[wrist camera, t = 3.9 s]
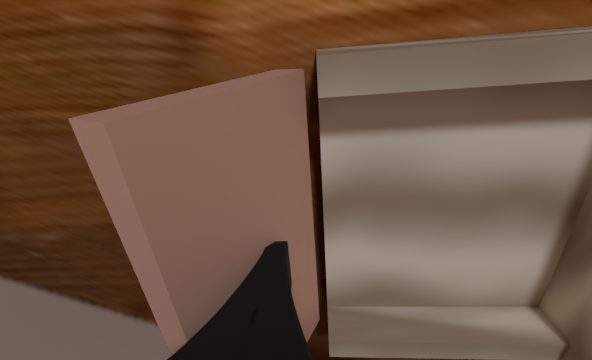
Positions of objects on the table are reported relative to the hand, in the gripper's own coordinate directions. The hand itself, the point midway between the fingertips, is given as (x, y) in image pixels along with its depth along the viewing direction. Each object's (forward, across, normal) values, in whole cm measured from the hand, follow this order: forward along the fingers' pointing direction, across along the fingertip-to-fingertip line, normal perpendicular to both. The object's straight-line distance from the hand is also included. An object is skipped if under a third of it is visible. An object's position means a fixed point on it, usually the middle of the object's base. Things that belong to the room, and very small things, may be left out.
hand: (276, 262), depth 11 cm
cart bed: (+5, -8, 0) cm, 9 cm away
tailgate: (+3, -1, 0) cm, 3 cm away
